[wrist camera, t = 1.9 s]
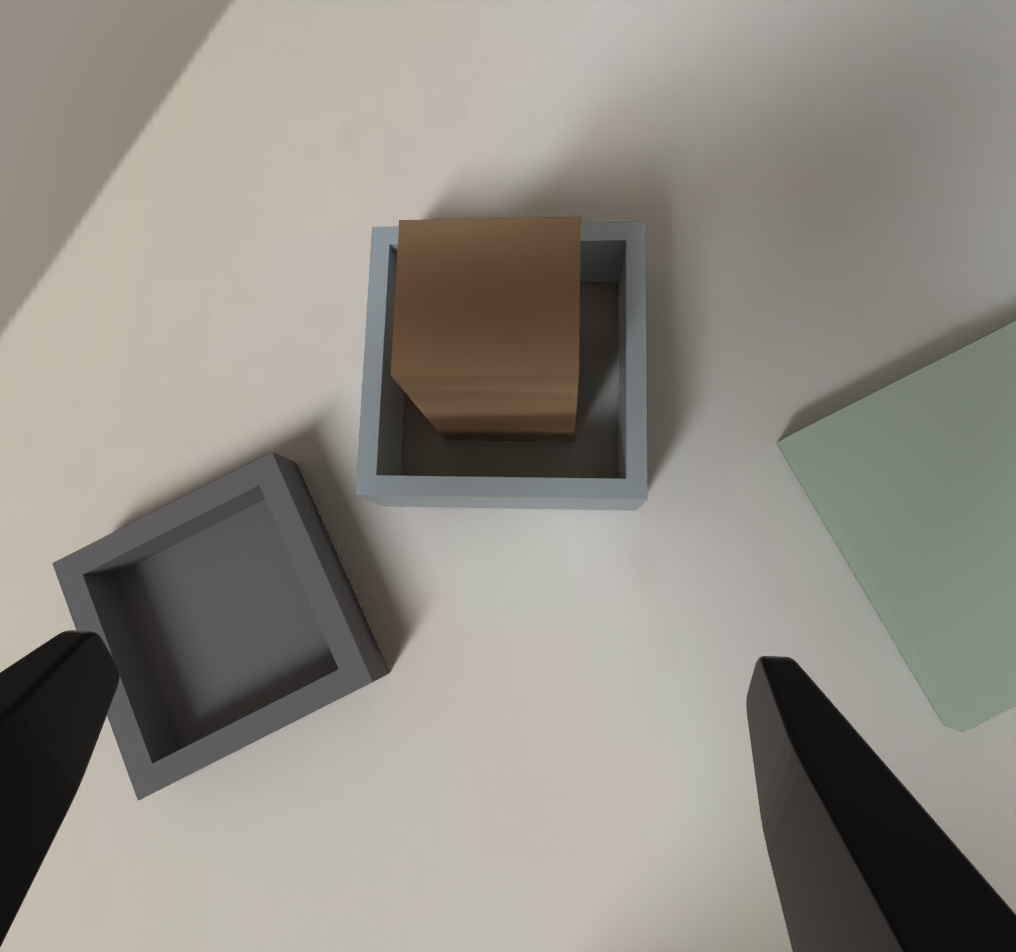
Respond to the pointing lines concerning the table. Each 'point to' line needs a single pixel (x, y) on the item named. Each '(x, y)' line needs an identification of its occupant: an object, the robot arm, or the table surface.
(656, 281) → the table surface
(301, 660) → the trap tray
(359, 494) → the blue-grey square tray
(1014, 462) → the sage plate
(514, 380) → the walnut block
